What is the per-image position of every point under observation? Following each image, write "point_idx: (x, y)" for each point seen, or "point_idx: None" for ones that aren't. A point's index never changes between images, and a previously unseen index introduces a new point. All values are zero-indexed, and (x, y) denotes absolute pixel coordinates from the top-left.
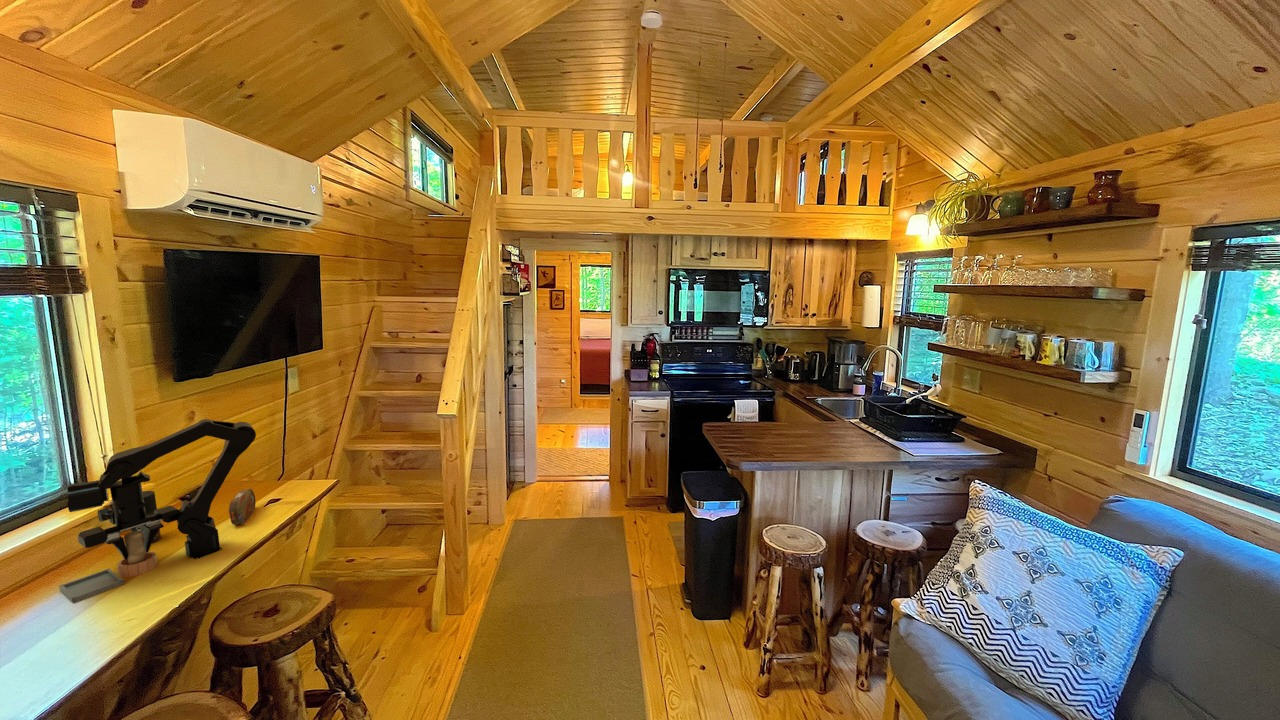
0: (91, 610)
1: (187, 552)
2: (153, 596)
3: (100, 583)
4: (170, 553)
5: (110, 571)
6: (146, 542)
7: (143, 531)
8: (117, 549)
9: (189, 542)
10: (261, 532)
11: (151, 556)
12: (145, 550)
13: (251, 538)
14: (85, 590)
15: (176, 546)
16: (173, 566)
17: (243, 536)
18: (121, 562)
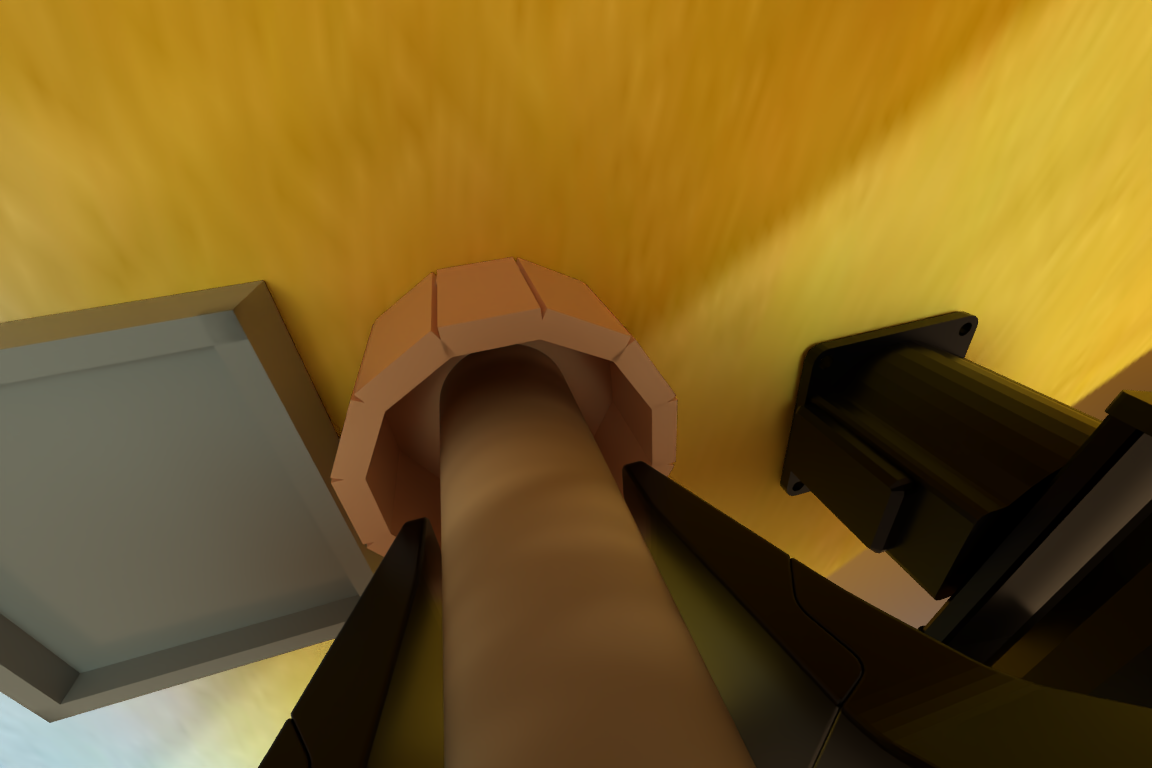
0: (247, 726)
1: (814, 456)
2: None
3: (218, 528)
4: (772, 199)
5: (269, 412)
6: (698, 636)
7: (869, 740)
8: (310, 696)
9: (900, 528)
10: (1141, 335)
11: (636, 404)
12: (629, 497)
13: (1064, 382)
14: (110, 582)
15: (884, 33)
16: (681, 472)
17: (1092, 313)
18: (374, 442)
